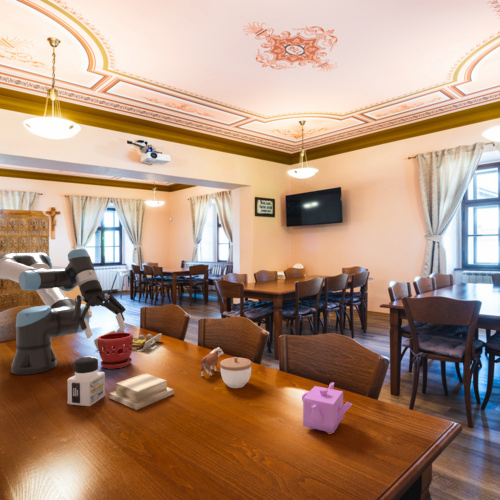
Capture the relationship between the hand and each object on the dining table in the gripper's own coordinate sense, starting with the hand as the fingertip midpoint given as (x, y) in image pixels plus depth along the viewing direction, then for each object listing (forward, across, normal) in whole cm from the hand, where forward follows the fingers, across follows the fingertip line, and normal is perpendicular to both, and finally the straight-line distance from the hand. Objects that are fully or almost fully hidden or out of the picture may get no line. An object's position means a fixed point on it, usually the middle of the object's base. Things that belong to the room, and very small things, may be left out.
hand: (107, 333), depth 133 cm
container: (+21, -16, -3) cm, 27 cm away
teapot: (+60, +13, -56) cm, 84 cm away
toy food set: (-3, +28, +31) cm, 42 cm away
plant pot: (+8, +8, +15) cm, 19 cm away
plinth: (+28, -4, -12) cm, 31 cm away
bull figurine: (+30, +25, -14) cm, 41 cm away
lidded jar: (+38, +21, -27) cm, 51 cm away
